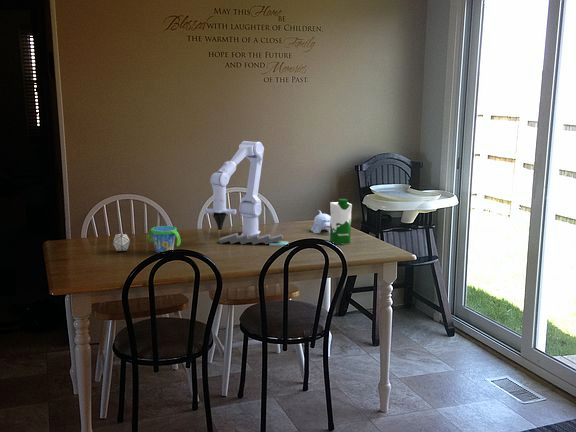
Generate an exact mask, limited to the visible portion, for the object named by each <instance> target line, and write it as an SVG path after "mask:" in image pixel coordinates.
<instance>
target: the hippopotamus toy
mask: <svg viewBox="0 0 576 432" xmlns="http://www.w3.org/2000/svg"><path fill="white" fill-rule="evenodd" d="M317 211H318V212H319V214H317V215H316V216H315V217H314V219H313V225H312V227H311V228H310V231H311V232H312V233H314V234H320V233H321V231H322V229H324V230H325V231H327V232H328V233H330V218H331V215H330V214H327V213H322V211H321V210H319V209H317Z"/></svg>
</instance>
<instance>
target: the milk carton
mask: <svg viewBox="0 0 576 432" xmlns="http://www.w3.org/2000/svg"><path fill="white" fill-rule="evenodd" d="M329 206H330V209H329V210H330V216H331V218H330V232H329V235H330V236H329V238H330V239H329V242H331V241H332V242H331V243H333V242H334V243H335V244H334V243H333V244H334V245H343V244H342V243H349V244H351V234H352V233H351V231H352V208H353V204H352V203H349V202H348V199H347V198H338V201H336V202H335V201H331V202H329Z"/></svg>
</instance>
